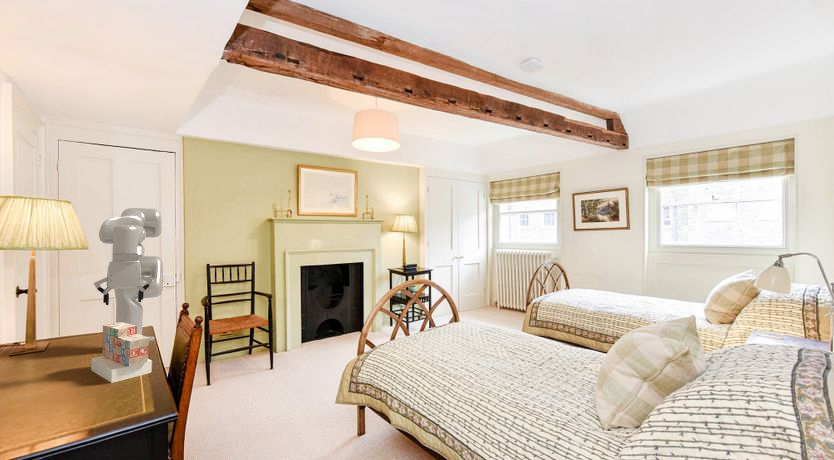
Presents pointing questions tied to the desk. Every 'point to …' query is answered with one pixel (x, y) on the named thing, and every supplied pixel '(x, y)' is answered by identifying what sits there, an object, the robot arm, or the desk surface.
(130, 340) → the stack of blocks
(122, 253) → the robot arm
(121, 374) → the block
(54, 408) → the desk surface
